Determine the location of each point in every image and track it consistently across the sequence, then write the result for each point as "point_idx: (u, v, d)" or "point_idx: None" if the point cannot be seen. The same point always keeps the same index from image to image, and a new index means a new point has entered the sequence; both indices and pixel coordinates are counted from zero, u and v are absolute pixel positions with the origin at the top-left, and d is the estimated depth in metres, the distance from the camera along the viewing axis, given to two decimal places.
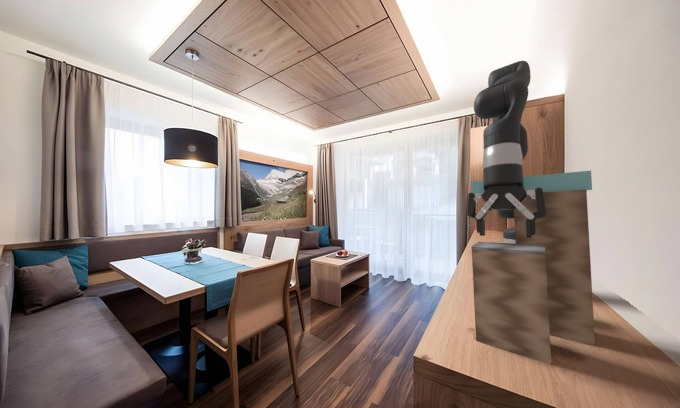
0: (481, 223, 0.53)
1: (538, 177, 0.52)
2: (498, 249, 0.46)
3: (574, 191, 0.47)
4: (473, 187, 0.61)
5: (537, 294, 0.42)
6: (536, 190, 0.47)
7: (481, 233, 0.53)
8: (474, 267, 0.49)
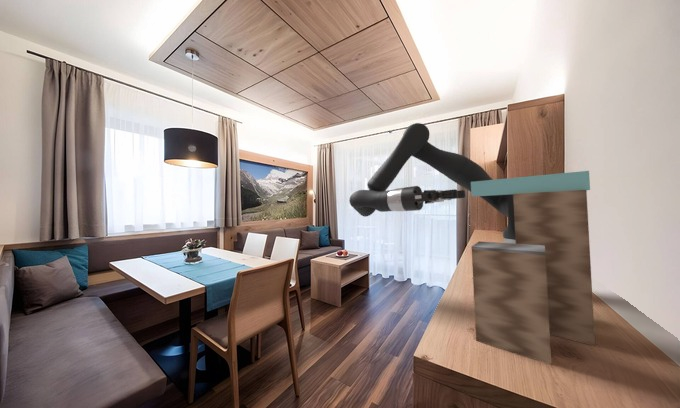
0: (454, 198, 0.66)
1: (536, 177, 0.52)
2: (498, 249, 0.46)
3: (574, 191, 0.47)
4: (472, 187, 0.62)
5: (537, 294, 0.42)
6: None
7: (463, 197, 0.64)
8: (474, 267, 0.49)
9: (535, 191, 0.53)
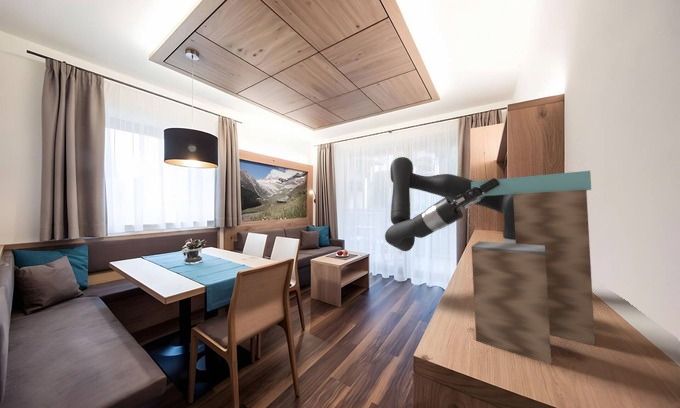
0: None
1: (537, 177, 0.52)
2: (498, 249, 0.46)
3: (574, 191, 0.47)
4: (472, 187, 0.61)
5: (537, 294, 0.42)
6: (461, 205, 0.60)
7: None
8: (474, 267, 0.49)
9: (536, 191, 0.52)
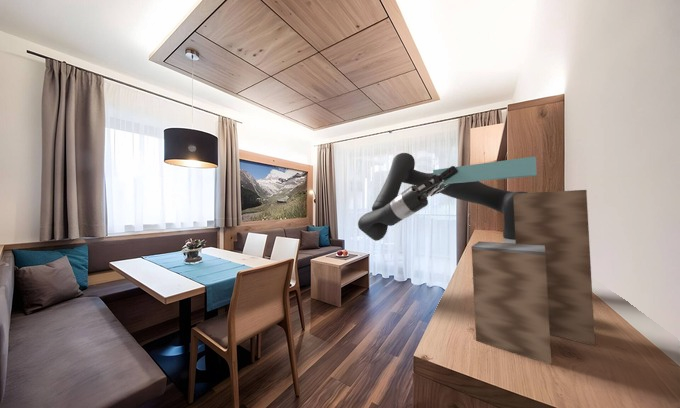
0: None
1: (490, 164, 0.54)
2: (498, 249, 0.46)
3: (574, 191, 0.47)
4: None
5: (537, 294, 0.42)
6: (422, 192, 0.62)
7: None
8: (474, 267, 0.49)
9: (489, 177, 0.55)
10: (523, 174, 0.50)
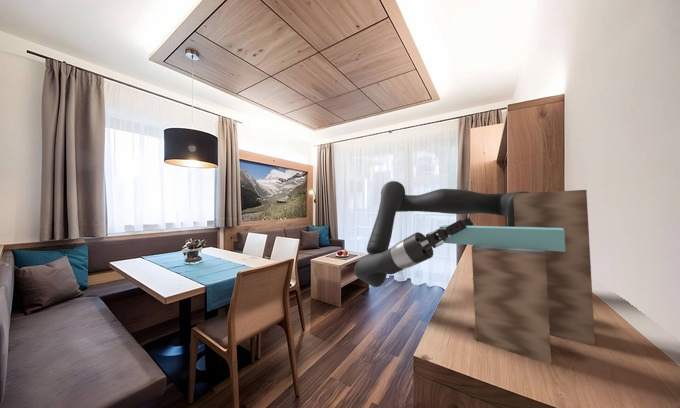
0: None
1: (508, 230, 0.46)
2: (498, 249, 0.46)
3: (574, 191, 0.47)
4: None
5: (537, 294, 0.42)
6: None
7: (471, 225, 0.55)
8: (474, 267, 0.49)
9: (507, 246, 0.47)
10: (549, 249, 0.42)
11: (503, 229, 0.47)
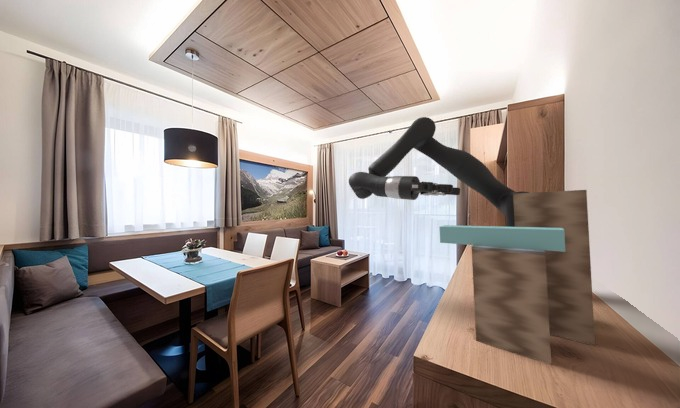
0: (449, 194, 0.68)
1: (508, 230, 0.46)
2: (498, 249, 0.46)
3: (574, 191, 0.47)
4: (441, 233, 0.55)
5: (537, 294, 0.42)
6: (413, 190, 0.65)
7: None
8: (474, 267, 0.49)
9: (507, 246, 0.47)
10: (549, 249, 0.42)
11: (503, 229, 0.47)
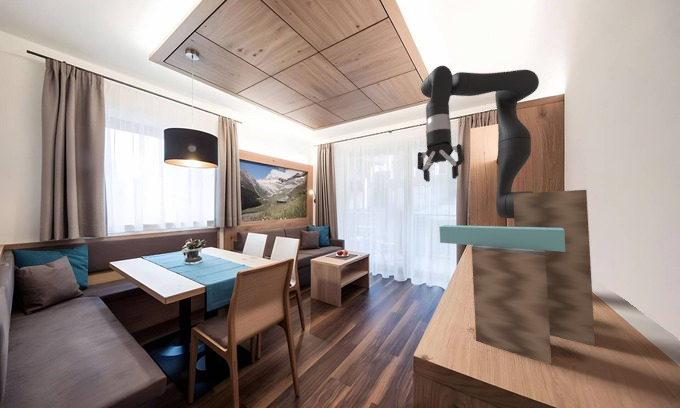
0: (426, 173, 0.76)
1: (508, 230, 0.46)
2: (498, 249, 0.46)
3: (574, 191, 0.47)
4: (441, 233, 0.55)
5: (537, 294, 0.42)
6: (457, 146, 0.69)
7: (426, 179, 0.76)
8: (474, 267, 0.49)
9: (507, 246, 0.47)
10: (549, 249, 0.42)
11: (503, 229, 0.47)
